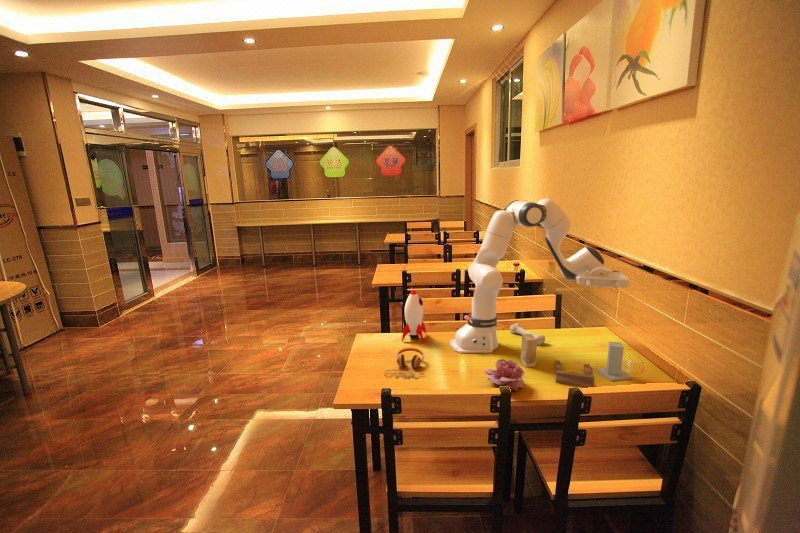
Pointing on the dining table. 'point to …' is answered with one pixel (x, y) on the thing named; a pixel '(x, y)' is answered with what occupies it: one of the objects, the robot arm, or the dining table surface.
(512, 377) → the flower
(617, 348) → the block
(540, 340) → the dog toy
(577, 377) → the channel
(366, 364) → the dining table surface
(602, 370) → the coaster
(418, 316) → the rocket
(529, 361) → the skincare box
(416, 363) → the headphones
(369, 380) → the dining table surface
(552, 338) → the dining table surface
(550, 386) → the dining table surface
